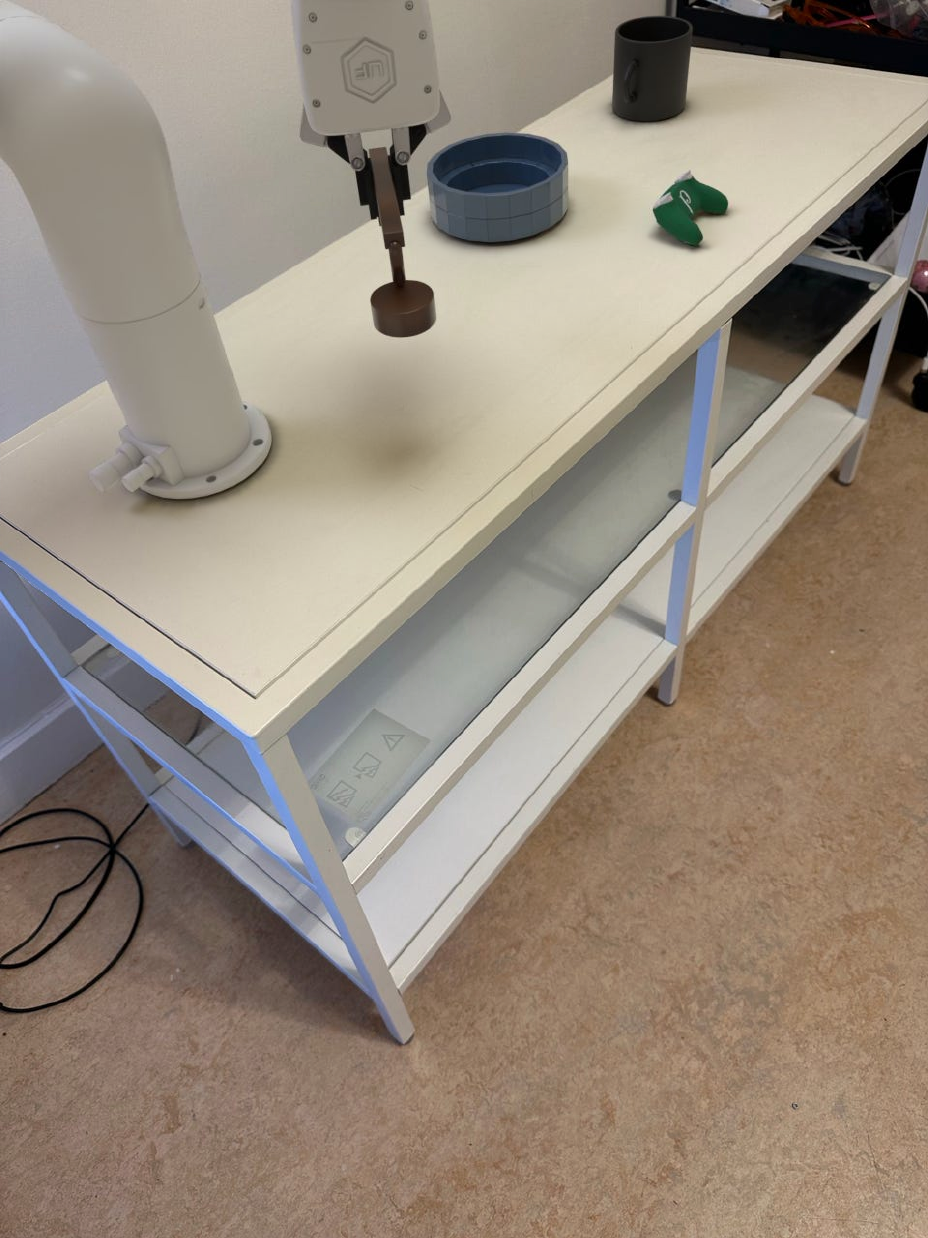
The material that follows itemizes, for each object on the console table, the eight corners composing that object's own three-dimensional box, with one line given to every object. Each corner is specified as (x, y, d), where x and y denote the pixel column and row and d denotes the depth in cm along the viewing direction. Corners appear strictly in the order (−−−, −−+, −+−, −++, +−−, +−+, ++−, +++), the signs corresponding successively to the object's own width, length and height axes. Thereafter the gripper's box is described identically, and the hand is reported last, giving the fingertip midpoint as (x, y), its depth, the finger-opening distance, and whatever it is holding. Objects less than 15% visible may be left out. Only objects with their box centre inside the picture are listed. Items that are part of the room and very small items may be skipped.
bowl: (516, 259, 96) (514, 207, 91) (405, 226, 102) (398, 177, 98) (593, 197, 103) (594, 147, 99) (484, 170, 110) (481, 123, 105)
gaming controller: (707, 222, 101) (674, 178, 99) (734, 202, 98) (700, 156, 96) (675, 262, 96) (640, 216, 94) (702, 242, 93) (667, 194, 91)
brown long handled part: (440, 333, 67) (432, 254, 63) (376, 341, 67) (364, 264, 62) (413, 215, 80) (405, 143, 75) (359, 222, 79) (348, 150, 75)
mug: (589, 123, 116) (590, 44, 109) (632, 88, 122) (636, 11, 115) (656, 135, 112) (662, 54, 105) (697, 98, 118) (705, 19, 111)
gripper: (234, -30, 58) (294, 244, 72) (472, -58, 59) (486, 218, 73) (237, -59, 63) (292, 202, 77) (457, -85, 64) (472, 179, 78)
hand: (386, 208), depth 75 cm, fingers closed on brown long handled part, 1 cm apart
